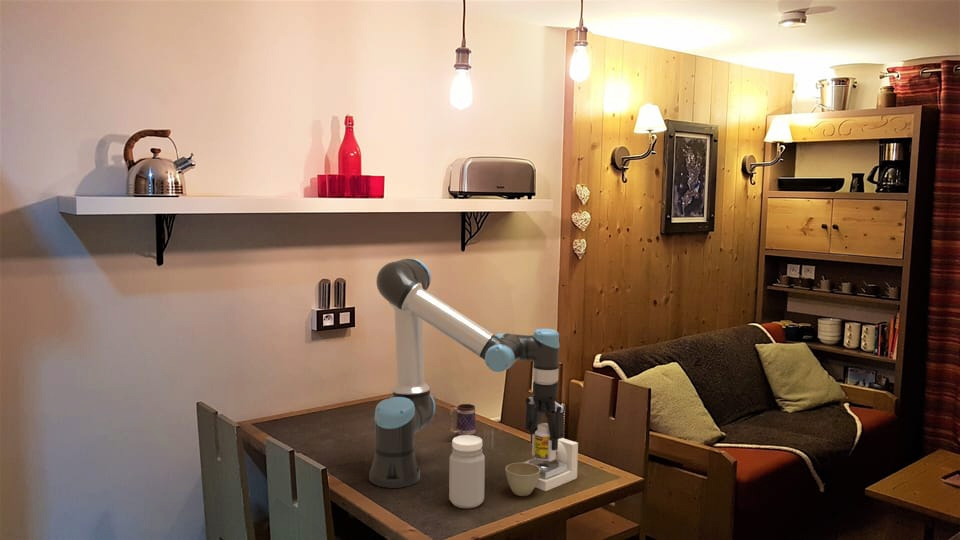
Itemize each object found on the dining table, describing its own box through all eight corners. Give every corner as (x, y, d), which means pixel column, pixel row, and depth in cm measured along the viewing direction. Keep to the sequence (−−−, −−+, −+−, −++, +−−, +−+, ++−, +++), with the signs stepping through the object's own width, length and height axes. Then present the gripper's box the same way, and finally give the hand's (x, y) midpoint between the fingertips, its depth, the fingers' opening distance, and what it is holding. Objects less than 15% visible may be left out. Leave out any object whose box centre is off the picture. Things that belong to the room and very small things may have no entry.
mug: (468, 434, 270) (469, 401, 269) (480, 439, 265) (480, 406, 263) (444, 439, 265) (444, 405, 263) (454, 445, 259) (455, 410, 258)
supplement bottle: (531, 459, 227) (532, 426, 226) (537, 453, 232) (538, 421, 231) (549, 462, 225) (550, 428, 224) (555, 456, 230) (555, 423, 229)
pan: (545, 478, 222) (545, 472, 222) (520, 469, 229) (520, 462, 229) (567, 470, 229) (567, 463, 229) (541, 461, 236) (542, 454, 236)
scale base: (545, 491, 221) (546, 454, 220) (515, 479, 229) (515, 444, 228) (577, 478, 231) (578, 442, 230) (546, 467, 240) (547, 433, 238)
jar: (485, 509, 208) (486, 445, 206) (449, 510, 207) (450, 445, 205) (482, 494, 218) (483, 433, 216) (448, 495, 217) (448, 434, 215)
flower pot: (514, 502, 213) (514, 477, 212) (499, 488, 222) (499, 465, 222) (545, 496, 217) (546, 472, 216) (529, 483, 226) (530, 460, 226)
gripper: (578, 385, 222) (576, 462, 225) (530, 373, 235) (528, 446, 238) (561, 390, 217) (559, 468, 219) (513, 377, 230) (512, 452, 233)
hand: (543, 457), depth 229 cm, fingers closed on supplement bottle, 6 cm apart
